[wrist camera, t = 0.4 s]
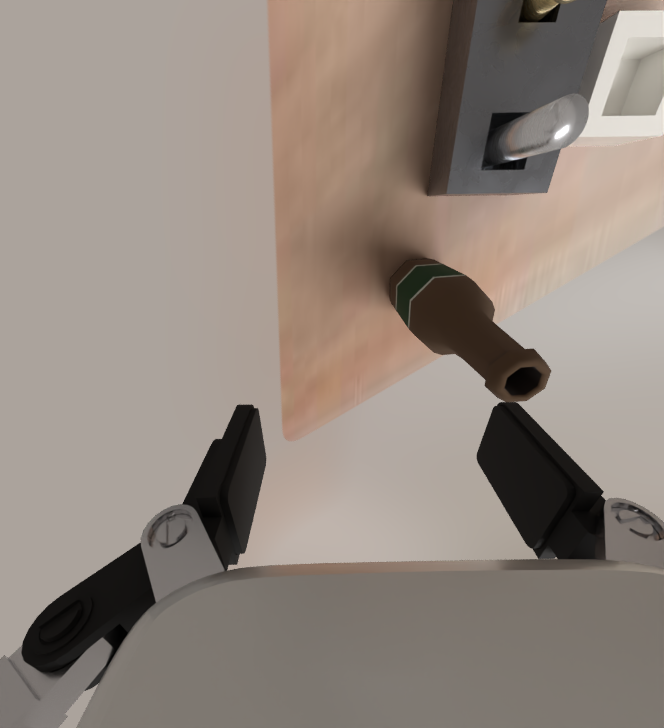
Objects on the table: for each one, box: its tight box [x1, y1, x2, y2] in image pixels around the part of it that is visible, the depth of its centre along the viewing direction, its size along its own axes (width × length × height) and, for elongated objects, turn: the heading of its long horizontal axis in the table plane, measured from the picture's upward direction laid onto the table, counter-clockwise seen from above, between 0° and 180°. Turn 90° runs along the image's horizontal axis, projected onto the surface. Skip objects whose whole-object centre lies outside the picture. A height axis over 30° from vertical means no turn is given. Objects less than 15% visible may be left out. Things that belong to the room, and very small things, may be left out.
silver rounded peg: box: [481, 93, 589, 168], centre depth 25 cm, size 3×3×12 cm
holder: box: [567, 10, 664, 147], centre depth 27 cm, size 8×8×5 cm
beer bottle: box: [390, 259, 551, 402], centre depth 28 cm, size 8×8×24 cm
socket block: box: [427, 0, 607, 196], centre depth 26 cm, size 17×10×6 cm, turn 1°
